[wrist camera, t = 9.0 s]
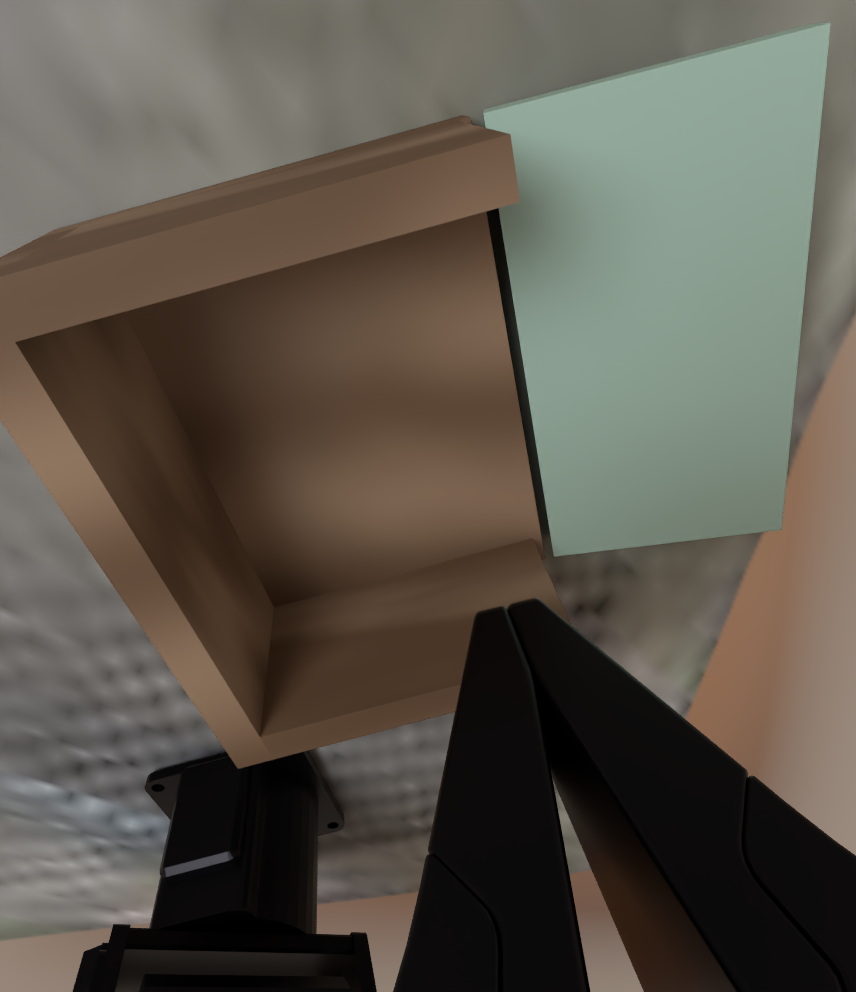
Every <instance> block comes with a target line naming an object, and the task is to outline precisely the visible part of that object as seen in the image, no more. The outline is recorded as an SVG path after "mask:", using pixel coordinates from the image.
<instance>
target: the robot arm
mask: <svg viewBox="0 0 856 992" xmlns="http://www.w3.org/2000/svg"><path fill="white" fill-rule="evenodd" d="M552 778H553V780H554V783H555V785H556V788H557V790H558V793H559V795H560V797H561V800H562V802H563V804H564V807H565V809H566V811H567V813H568V816H569V818H570V820H571V823H572V825H573V827H574V830H575V832H576V834H577V837H578V839H579V841H580V844H581V846H582V848H583V851H584V853H585V855H586V858H587V860H588V862H589V865H590V867H591V869H592V872H593V874H594V876H595V878H596V881H597V883H598V886H599V888H600V890H601V893H602V895H603V897H604V900H605V902H606V904H607V907H608V909H609V911H610V914H611V916H612V918H613V920H614V923H615V925H616V928H617V930H618V932H619V935H620V937H621V939H622V941H623V944H624V946H625V948H626V951H627V953H628V956H629V958H630V960H631V963H632V965H633V967H634V970H635V972H636V974H637V977H638V979H639V981H640V984H641V986H642V988H643V990H644V992H856V856H855V855H854V854H852V853H851V852H850V851H848V850H847V849H846V848H844V847H843V846H841V845H840V844H838V843H837V842H836V841H835V840H833V839H832V838H831V837H829V836H828V835H827V834H826V833H824V832H823V831H822V830H821V829H819V828H818V827H817V826H815V825H814V824H813V823H812V822H810V821H809V820H808V819H806V818H805V817H804V816H803V815H801V814H800V813H799V812H797V811H796V810H795V809H794V808H792V807H791V806H790V805H789V804H787V803H786V802H785V801H784V800H783V799H781V798H780V797H779V796H778V795H777V794H775V793H774V792H773V791H772V790H771V789H769V788H768V787H767V786H766V785H765V784H763V783H762V782H761V781H760V780H758V779H757V778H756V777H755V776H749V777H748V772H747V770H746V769H745V768H743V767H742V766H741V765H740V764H739V763H738V762H736V761H735V760H734V759H733V758H731V757H730V756H729V755H728V754H726V753H725V752H724V751H723V750H722V749H720V748H719V747H718V746H717V745H716V744H714V743H713V742H712V741H710V739H708V738H707V737H706V736H705V735H704V734H702V733H701V732H700V731H699V730H697V729H696V728H695V727H694V726H693V725H691V724H690V723H689V722H688V721H687V720H685V719H684V718H683V717H682V716H681V715H679V714H678V713H677V712H676V711H675V710H673V709H672V708H671V707H670V706H668V705H667V704H666V703H665V702H664V701H662V700H661V699H660V698H659V697H658V696H656V695H655V694H654V693H653V692H652V691H650V690H649V689H648V688H647V687H645V686H644V685H643V684H642V683H641V682H639V681H638V680H637V679H636V678H635V677H633V676H632V675H631V674H630V673H628V672H627V671H626V670H625V669H624V668H622V667H621V666H620V665H619V664H618V663H616V662H615V661H614V660H613V659H612V658H610V657H609V656H608V655H607V654H605V653H604V652H603V651H602V650H601V649H599V648H598V647H597V646H596V645H595V644H593V643H592V642H591V641H590V640H589V639H587V638H586V637H585V636H584V635H582V634H581V633H580V632H579V631H578V630H576V629H575V628H574V627H573V626H572V625H570V624H569V623H568V622H567V621H566V620H564V619H563V618H562V617H561V616H559V615H558V614H557V613H556V612H555V611H553V610H552V609H551V608H550V607H549V606H547V605H546V604H545V603H544V602H542V601H541V600H540V599H538V598H531V599H526V600H522V601H518V602H514V603H511V604H510V605H509V606H508V609H507V608H506V607H505V606H497V607H493V608H489V609H485V610H481V611H478V612H477V613H476V615H475V617H474V621H473V626H472V631H471V636H470V641H469V646H468V651H467V656H466V661H465V666H464V671H463V676H462V681H461V686H460V691H459V696H458V701H457V706H456V711H455V716H454V721H453V726H452V731H451V736H450V741H449V746H448V751H447V756H446V761H445V766H444V771H443V776H442V781H441V786H440V791H439V796H438V801H437V806H436V811H435V816H434V821H433V826H432V831H431V836H430V841H429V846H428V851H429V855H427V856H426V859H425V864H424V869H423V874H422V879H421V884H420V889H419V894H418V898H417V902H416V907H415V911H414V915H413V919H412V924H411V928H410V932H409V937H408V941H407V946H406V949H405V953H404V956H403V959H402V963H401V966H400V970H399V973H398V977H397V980H396V983H395V987H394V991H393V992H590V987H589V982H588V976H587V971H586V965H585V960H584V954H583V948H582V943H581V937H580V932H579V926H578V920H577V915H576V909H575V903H574V898H573V892H572V886H571V881H570V875H569V869H568V864H567V858H566V853H565V847H564V841H563V836H562V830H561V824H560V819H559V813H558V808H557V802H556V796H555V791H554V785H553V780H552ZM145 790H146V792H147V793H148V794H149V795H150V796H151V798H152V799H153V800H154V801H155V802H156V803H157V805H158V806H159V807H160V808H161V809H162V811H163V812H164V813H165V814H166V815H167V816H168V818H169V819H170V820H171V821H170V826H169V830H168V835H167V839H166V844H165V848H164V853H163V858H162V862H161V867H160V875H161V877H160V881H159V886H158V891H157V895H156V900H155V905H154V909H153V914H152V918H151V923H150V928H130V925H126V924H114V925H113V928H112V932H111V936H110V940H109V943H102V945H100V946H97V947H95V948H93V949H90V950H87V951H85V952H84V954H83V958H82V961H81V964H80V968H79V971H78V975H77V978H76V982H75V985H74V989H73V992H377V991H376V985H375V979H374V973H373V968H372V962H371V956H370V950H369V944H368V938H367V934H366V933H359V932H352V933H351V934H350V935H331V934H316V928H317V870H318V836H320V835H324V834H328V833H332V832H336V831H338V830H341V829H342V828H343V827H344V814H343V812H342V810H341V809H340V807H339V805H338V803H337V802H336V800H335V798H334V796H333V794H332V793H331V791H330V789H329V787H328V786H327V784H326V782H325V780H324V778H323V777H322V775H321V773H320V771H319V770H318V768H317V766H316V764H315V762H314V761H313V759H312V757H311V755H310V753H309V752H308V751H304V752H300V753H296V754H293V755H289V756H285V757H281V758H277V759H274V760H270V761H266V762H262V763H258V764H255V765H251V766H247V767H243V768H239V769H238V768H237V767H236V765H235V764H234V762H233V761H232V759H231V758H230V756H229V755H228V753H224V754H221V755H217V756H213V757H209V758H205V759H202V760H198V761H194V762H190V763H186V764H183V765H179V766H175V767H171V768H168V769H164V770H160V771H156V772H153V773H151V774H150V775H149V776H148V777H147V781H146V785H145Z"/></svg>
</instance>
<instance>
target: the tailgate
mask: <svg viewBox="0 0 856 992" xmlns="http://www.w3.org/2000/svg"><path fill="white" fill-rule="evenodd" d="M830 24H831V23H817V24H808V25H804V26H801V27H797V28H793V29H789V30H785V31H781V32H778V33H774V34H770V35H766V36H762V37H759V38H755V39H751V40H747V41H743V42H739V43H736V44H732V45H728V46H724V47H720V48H717V49H713V50H709V51H705V52H701V53H697V54H694V55H690V56H686V57H682V58H678V59H675V60H671V61H667V62H663V63H659V64H655V65H652V66H648V67H644V68H640V69H636V70H633V71H629V72H625V73H621V74H617V75H614V76H610V77H606V78H602V79H598V80H594V81H591V82H587V83H583V84H579V85H575V86H572V87H568V88H564V89H560V90H556V91H552V92H549V93H545V94H541V95H537V96H533V97H530V98H526V99H522V100H518V101H514V102H510V103H507V104H503V105H499V106H495V107H491V108H488V109H484V113H483V114H484V120H485V126H486V128H488V129H492V130H496V131H500V132H504V133H508V134H510V135H511V142H512V149H513V156H514V163H515V170H516V177H517V184H518V191H519V198H520V202H518V203H515V204H511V205H507V206H504V207H500V208H499V215H500V221H501V227H502V233H503V240H504V246H505V252H506V259H507V265H508V271H509V277H510V284H511V290H512V296H513V303H514V309H515V315H516V321H517V328H518V334H519V340H520V347H521V353H522V359H523V366H524V372H525V378H526V384H527V391H528V397H529V403H530V410H531V416H532V422H533V428H534V435H535V441H536V447H537V454H538V460H539V466H540V472H541V479H542V485H543V491H544V498H545V504H546V510H547V516H548V523H549V529H550V535H551V542H552V548H553V554H554V557H555V556H564V555H572V554H581V553H589V552H598V551H606V550H615V549H623V548H632V547H640V546H649V545H657V544H665V543H674V542H682V541H691V540H699V539H708V538H716V537H725V536H733V535H742V534H750V533H759V532H767V531H775V530H782V521H783V510H784V500H785V490H786V479H787V469H788V459H789V448H790V438H791V428H792V417H793V407H794V397H795V386H796V376H797V365H798V355H799V345H800V334H801V324H802V314H803V303H804V293H805V283H806V272H807V262H808V252H809V241H810V231H811V221H812V210H813V200H814V189H815V179H816V169H817V158H818V148H819V138H820V127H821V117H822V107H823V96H824V86H825V76H826V65H827V55H828V44H829V34H830Z"/></svg>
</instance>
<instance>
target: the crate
mask: <svg viewBox="0 0 856 992" xmlns="http://www.w3.org/2000/svg"><path fill="white" fill-rule="evenodd" d="M518 202H520V198H519V191H518V184H517V177H516V170H515V163H514V156H513V149H512V142H511V135H510V134H508V133H504V132H500V131H496V130H492V129H488V128H484V127H480V126H476V125H472V124H471V118H470V117H468V116H463V115H462V116H459V117H455V118H451V119H448V120H444V121H441V122H437V123H434V124H430V125H426V126H423V127H419V128H416V129H412V130H409V131H405V132H401V133H398V134H394V135H391V136H387V137H384V138H380V139H377V140H373V141H369V142H366V143H362V144H359V145H355V146H352V147H348V148H344V149H341V150H337V151H334V152H330V153H327V154H323V155H319V156H316V157H312V158H309V159H305V160H302V161H298V162H295V163H291V164H287V165H284V166H280V167H277V168H273V169H270V170H266V171H262V172H259V173H255V174H252V175H248V176H245V177H241V178H237V179H234V180H230V181H227V182H223V183H220V184H216V185H213V186H209V187H205V188H202V189H198V190H195V191H191V192H188V193H184V194H180V195H177V196H173V197H170V198H166V199H163V200H159V201H155V202H152V203H148V204H145V205H141V206H138V207H134V208H131V209H127V210H123V211H120V212H116V213H113V214H109V215H106V216H102V217H98V218H95V219H91V220H88V221H84V222H81V223H77V224H73V225H70V226H66V227H63V228H59V229H56V230H53V231H51V232H49V233H47V234H45V235H43V236H42V237H40V238H38V239H36V240H34V241H32V242H30V243H28V244H26V245H24V246H22V247H20V248H18V249H16V250H14V251H12V252H10V253H8V254H6V255H4V256H3V257H1V258H0V420H1V422H2V423H3V425H4V426H5V428H6V429H7V431H8V432H9V434H10V435H11V437H12V438H13V439H14V441H15V442H16V444H17V445H18V447H19V448H20V450H21V451H22V453H23V454H24V456H25V457H26V459H27V460H28V462H29V463H30V464H31V466H32V467H33V469H34V470H35V472H36V473H37V475H38V476H39V478H40V479H41V481H42V482H43V484H44V485H45V486H46V488H47V489H48V491H49V492H50V494H51V495H52V497H53V498H54V500H55V501H56V503H57V504H58V506H59V507H60V508H61V510H62V511H63V513H64V514H65V516H66V517H67V519H68V520H69V522H70V523H71V525H72V526H73V528H74V529H75V530H76V532H77V533H78V535H79V536H80V538H81V539H82V541H83V542H84V544H85V545H86V547H87V548H88V550H89V551H90V552H91V554H92V555H93V557H94V558H95V560H96V561H97V563H98V564H99V566H100V567H101V569H102V570H103V572H104V573H105V574H106V576H107V577H108V579H109V580H110V582H111V583H112V585H113V586H114V588H115V589H116V591H117V592H118V594H119V595H120V596H121V598H122V599H123V601H124V602H125V604H126V605H127V607H128V608H129V610H130V611H131V613H132V614H133V616H134V617H135V618H136V620H137V621H138V623H139V624H140V626H141V627H142V629H143V630H144V632H145V633H146V635H147V636H148V638H149V639H150V640H151V642H152V643H153V645H154V646H155V648H156V649H157V651H158V652H159V654H160V655H161V657H162V658H163V660H164V661H165V662H166V664H167V665H168V667H169V668H170V670H171V671H172V673H173V674H174V676H175V677H176V679H177V680H178V682H179V683H180V685H181V686H182V687H183V689H184V690H185V692H186V693H187V695H188V696H189V698H190V699H191V701H192V702H193V704H194V705H195V707H196V708H197V709H198V711H199V712H200V714H201V715H202V717H203V718H204V720H205V721H206V723H207V724H208V726H209V727H210V729H211V730H212V731H213V733H214V734H215V736H216V737H217V739H218V740H219V742H220V743H221V745H222V746H223V748H224V749H225V751H226V752H227V753H228V755H229V756H230V758H231V759H232V761H233V762H234V764H235V765H236V767H237V768H238V769H239V768H243V767H247V766H251V765H255V764H258V763H262V762H266V761H270V760H274V759H277V758H281V757H285V756H289V755H293V754H296V753H300V752H304V751H308V750H312V749H315V748H319V747H323V746H327V745H331V744H334V743H338V742H342V741H346V740H350V739H353V738H357V737H361V736H365V735H369V734H372V733H376V732H380V731H384V730H388V729H391V728H395V727H399V726H403V725H407V724H411V723H414V722H418V721H422V720H426V719H430V718H433V717H437V716H441V715H445V714H449V713H452V712H455V711H456V706H457V701H458V696H459V691H460V686H461V681H462V676H463V671H464V666H465V661H466V656H467V651H468V646H469V641H470V636H471V631H472V626H473V621H474V617H475V615H476V613H477V612H478V611H481V610H485V609H489V608H493V607H497V606H505V607H506V608H507V609H508V606H509V605H510V604H511V603H514V602H518V601H522V600H526V599H531V598H538V599H540V600H541V601H542V602H544V603H545V604H546V605H547V606H549V607H550V608H551V609H552V610H553V611H555V612H556V613H557V614H558V615H559V616H561V617H562V618H563V619H564V620H566V621H567V622H568V623H569V624H570V625H571V623H570V621H569V619H568V617H567V614H566V612H565V610H564V608H563V606H562V603H561V601H560V599H559V597H558V594H557V592H556V590H555V588H554V586H553V583H552V581H551V579H550V577H549V574H548V572H547V570H546V568H545V566H544V563H543V561H542V560H543V559H545V555H544V549H543V543H542V538H541V532H540V526H539V520H538V514H537V508H536V502H535V496H534V490H533V484H532V478H531V473H530V467H529V461H528V455H527V449H526V443H525V437H524V431H523V425H522V419H521V414H520V408H519V402H518V396H517V390H516V384H515V378H514V372H513V366H512V360H511V354H510V349H509V343H508V337H507V331H506V325H505V319H504V313H503V307H502V301H501V295H500V290H499V284H498V278H497V272H496V266H495V260H494V254H493V248H492V242H491V236H490V230H489V225H488V219H487V213H486V211H489V210H493V209H497V208H500V207H504V206H507V205H511V204H515V203H518Z"/></svg>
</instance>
